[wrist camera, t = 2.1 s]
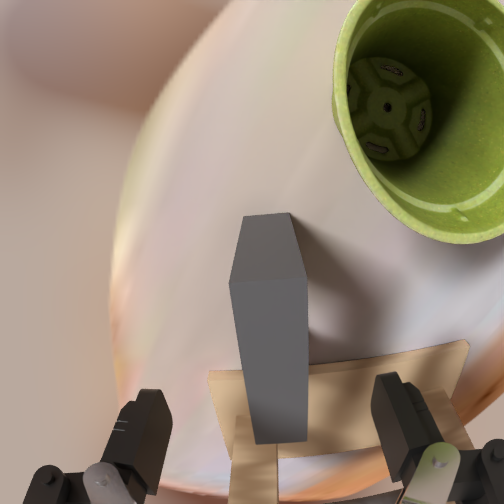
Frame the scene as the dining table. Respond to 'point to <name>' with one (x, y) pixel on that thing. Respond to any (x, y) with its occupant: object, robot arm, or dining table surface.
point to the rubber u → (272, 327)
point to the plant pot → (427, 111)
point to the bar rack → (335, 416)
